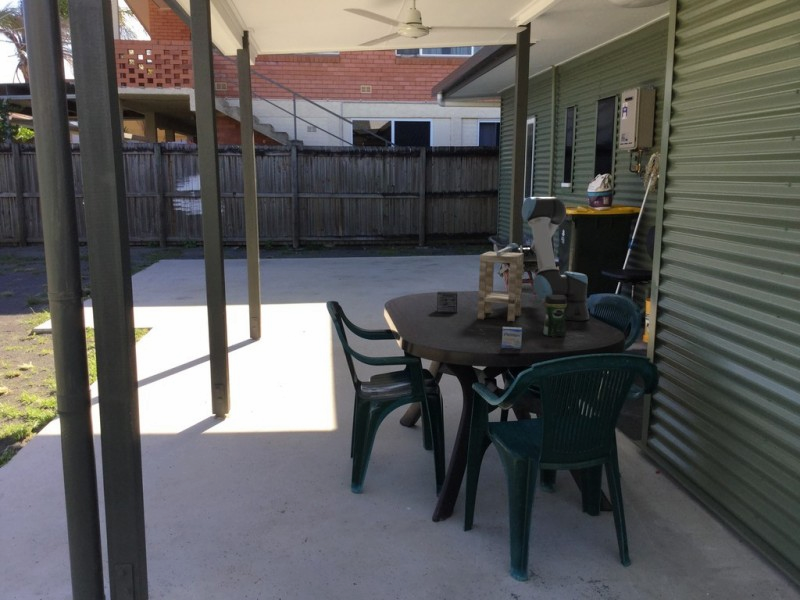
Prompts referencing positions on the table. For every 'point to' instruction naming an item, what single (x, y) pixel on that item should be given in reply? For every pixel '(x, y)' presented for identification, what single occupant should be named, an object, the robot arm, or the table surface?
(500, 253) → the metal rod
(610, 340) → the table surface
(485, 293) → the shelf stand
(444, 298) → the small box
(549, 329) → the coffee jar
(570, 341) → the table surface
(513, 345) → the medicine box
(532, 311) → the table surface
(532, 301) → the table surface
